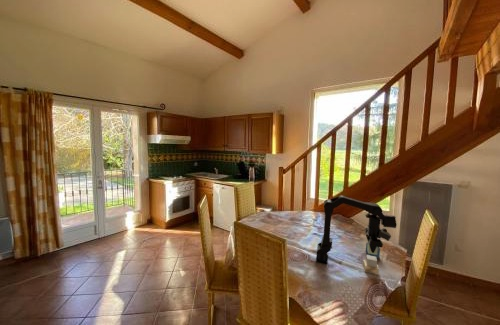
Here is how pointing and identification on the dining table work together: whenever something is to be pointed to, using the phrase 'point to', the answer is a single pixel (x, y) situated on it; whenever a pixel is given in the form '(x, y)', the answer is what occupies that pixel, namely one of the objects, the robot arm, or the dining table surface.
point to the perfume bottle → (373, 254)
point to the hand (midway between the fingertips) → (372, 250)
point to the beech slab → (370, 268)
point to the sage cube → (370, 250)
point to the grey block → (371, 261)
